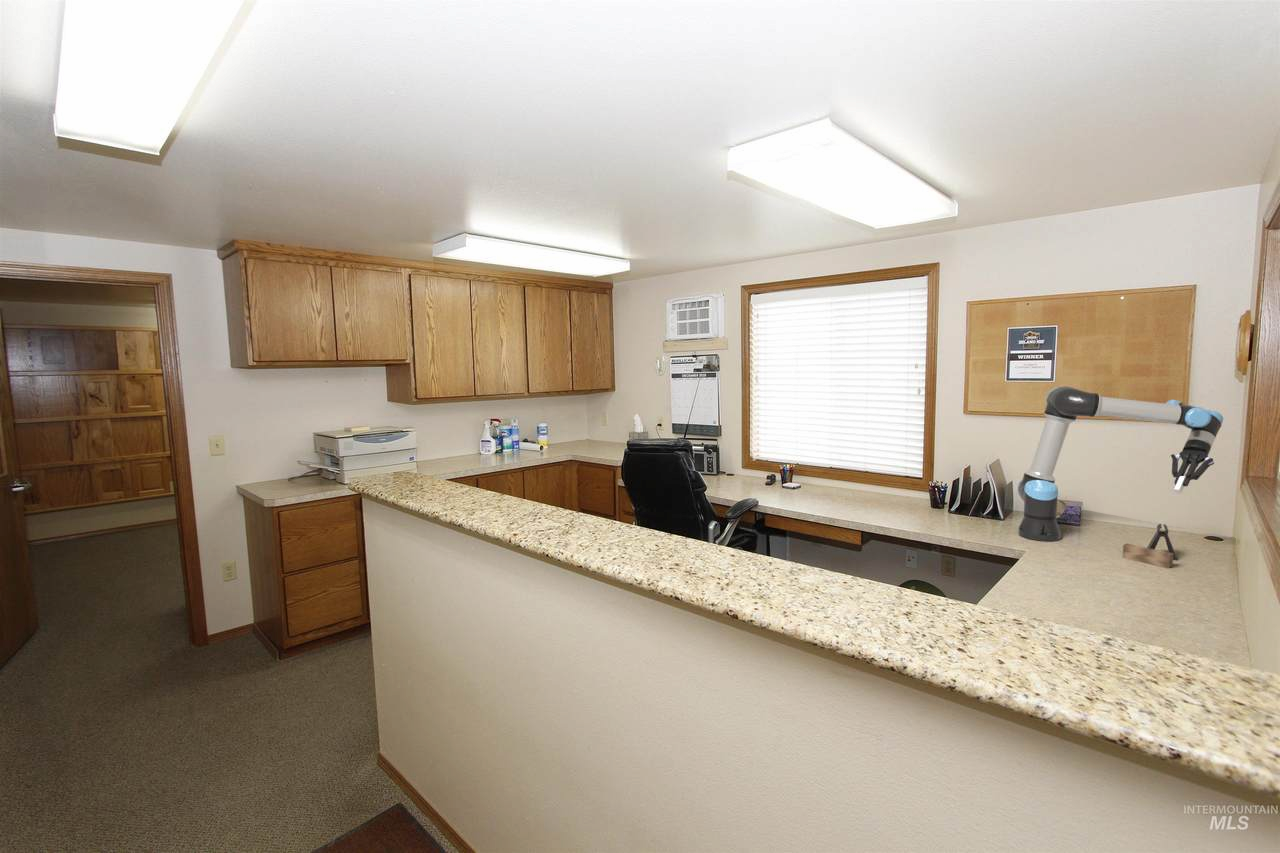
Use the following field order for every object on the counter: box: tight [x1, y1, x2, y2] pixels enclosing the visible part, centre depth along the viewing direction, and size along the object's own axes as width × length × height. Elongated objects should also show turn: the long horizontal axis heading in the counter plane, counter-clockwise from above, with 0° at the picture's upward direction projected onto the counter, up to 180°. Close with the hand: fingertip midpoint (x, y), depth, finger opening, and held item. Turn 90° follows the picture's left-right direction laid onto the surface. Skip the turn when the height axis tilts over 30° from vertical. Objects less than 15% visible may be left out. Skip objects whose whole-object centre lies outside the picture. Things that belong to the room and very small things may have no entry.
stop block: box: [1122, 543, 1174, 569], centre depth 218 cm, size 14×3×5 cm, turn 29°
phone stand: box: [1146, 523, 1178, 561], centre depth 223 cm, size 9×6×12 cm, turn 50°
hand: (1177, 491), depth 226 cm, fingers closed
